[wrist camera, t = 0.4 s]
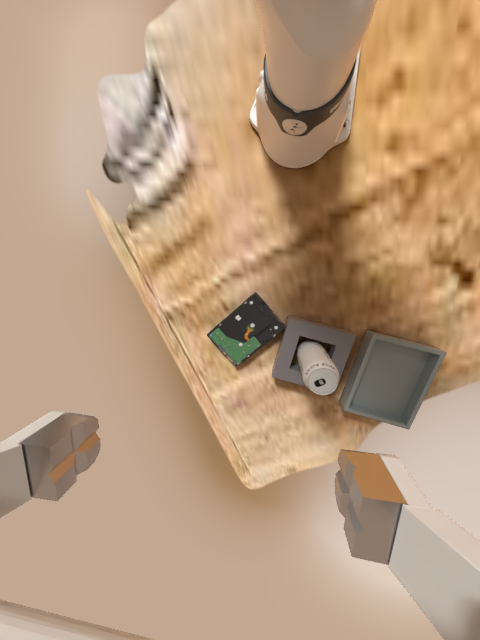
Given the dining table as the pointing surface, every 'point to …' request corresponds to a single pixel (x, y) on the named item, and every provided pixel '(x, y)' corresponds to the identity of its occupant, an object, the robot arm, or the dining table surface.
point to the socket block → (298, 327)
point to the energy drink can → (317, 367)
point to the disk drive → (246, 330)
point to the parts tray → (390, 378)
